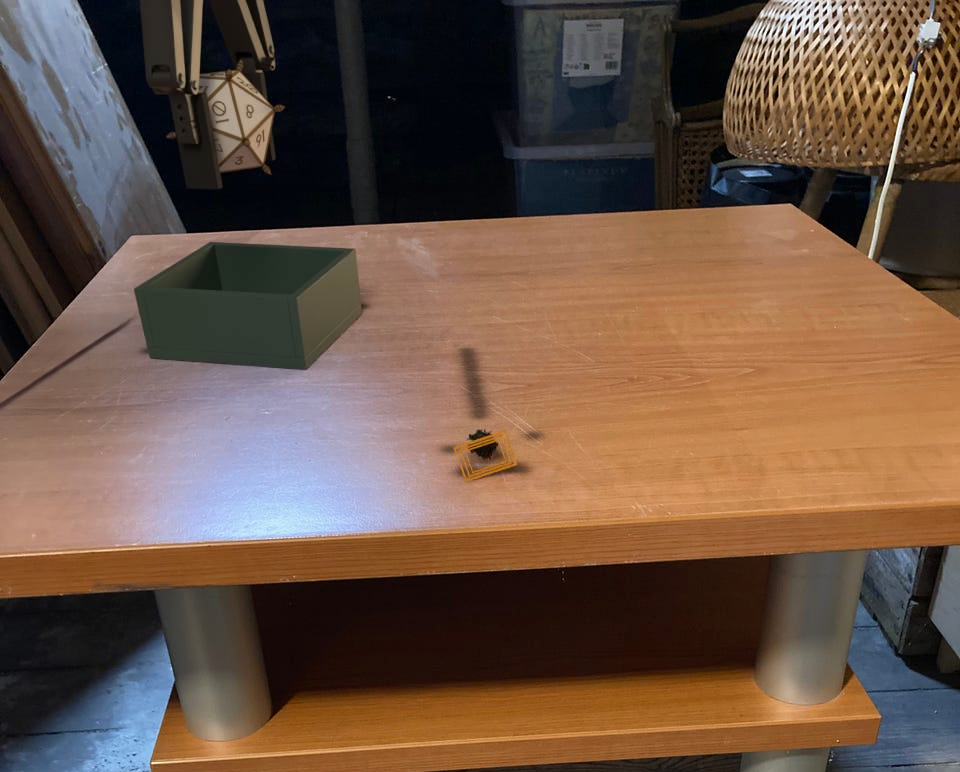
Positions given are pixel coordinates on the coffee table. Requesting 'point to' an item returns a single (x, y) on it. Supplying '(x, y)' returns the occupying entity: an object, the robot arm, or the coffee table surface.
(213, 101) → the game die
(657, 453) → the coffee table surface
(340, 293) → the bin
